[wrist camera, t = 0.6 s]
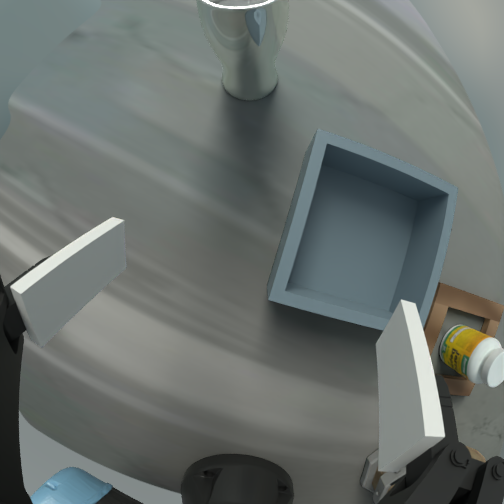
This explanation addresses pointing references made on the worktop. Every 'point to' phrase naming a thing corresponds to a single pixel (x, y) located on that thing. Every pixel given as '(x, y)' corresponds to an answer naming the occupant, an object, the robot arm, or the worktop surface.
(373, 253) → the bin
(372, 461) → the tankard
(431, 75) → the worktop surface
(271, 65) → the beer glass
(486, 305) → the socket frame
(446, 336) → the supplement bottle
